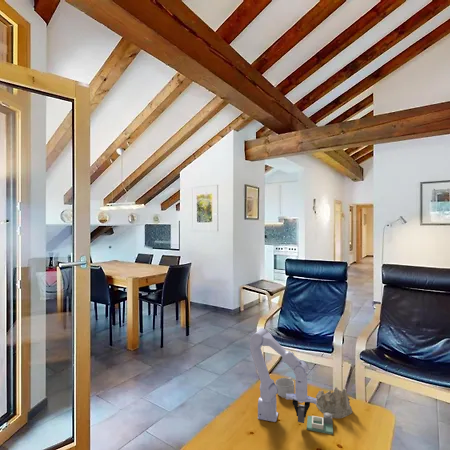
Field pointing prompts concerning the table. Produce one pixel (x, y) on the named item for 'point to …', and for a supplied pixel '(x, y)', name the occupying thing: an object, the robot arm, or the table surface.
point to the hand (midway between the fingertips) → (301, 415)
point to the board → (320, 423)
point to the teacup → (285, 386)
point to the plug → (301, 413)
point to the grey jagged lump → (334, 403)
